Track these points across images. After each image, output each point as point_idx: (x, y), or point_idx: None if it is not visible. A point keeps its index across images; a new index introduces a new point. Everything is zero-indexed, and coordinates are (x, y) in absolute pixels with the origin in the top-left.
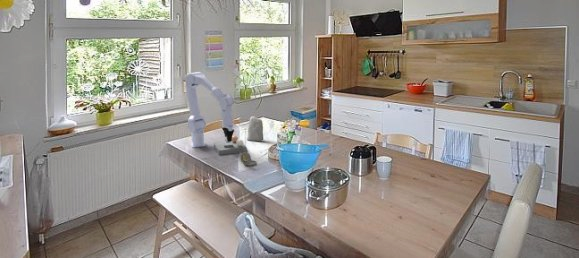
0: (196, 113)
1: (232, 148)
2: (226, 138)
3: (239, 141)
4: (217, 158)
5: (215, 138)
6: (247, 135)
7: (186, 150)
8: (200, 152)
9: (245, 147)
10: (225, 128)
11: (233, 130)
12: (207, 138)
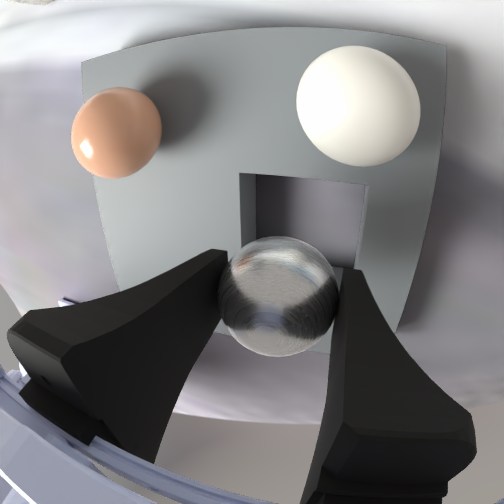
0: (1, 498)
1: (409, 232)
2: (303, 350)
3: (407, 131)
4: (452, 359)
5: (7, 217)
6: (18, 1)
7: (187, 408)
8: (251, 389)
9: (446, 62)
10: (134, 444)
11: (472, 452)
12: (12, 254)
